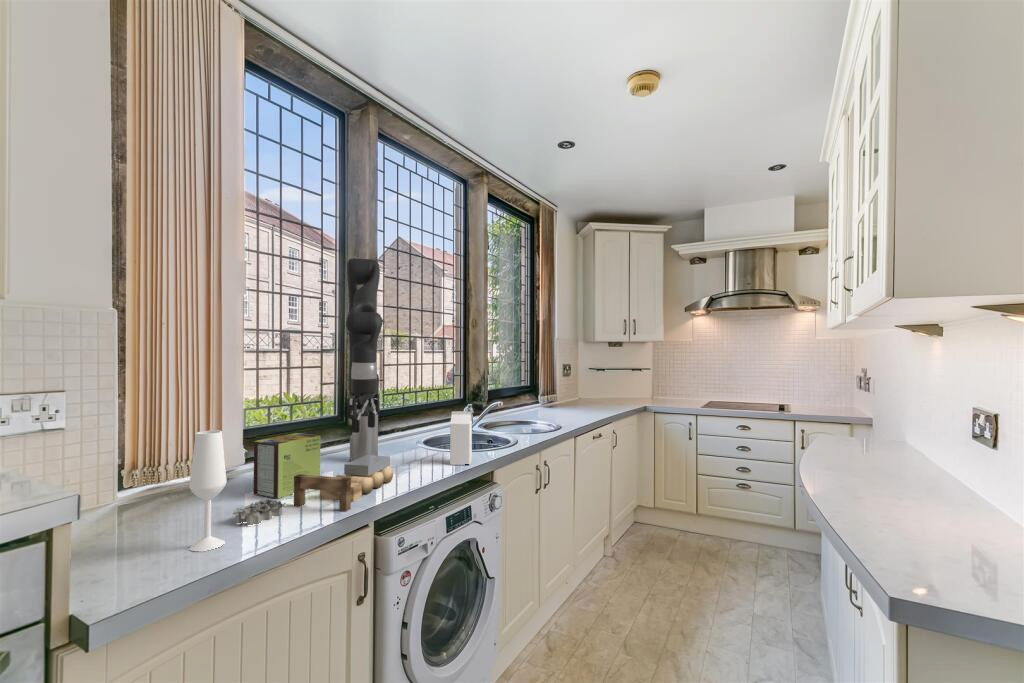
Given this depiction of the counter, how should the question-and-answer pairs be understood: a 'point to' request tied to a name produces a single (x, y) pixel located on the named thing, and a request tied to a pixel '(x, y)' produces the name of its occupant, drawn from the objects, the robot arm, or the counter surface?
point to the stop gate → (323, 488)
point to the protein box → (284, 462)
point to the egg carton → (258, 511)
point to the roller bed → (371, 479)
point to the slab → (367, 465)
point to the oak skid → (334, 495)
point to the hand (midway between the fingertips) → (363, 429)
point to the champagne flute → (208, 480)
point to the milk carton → (460, 438)
